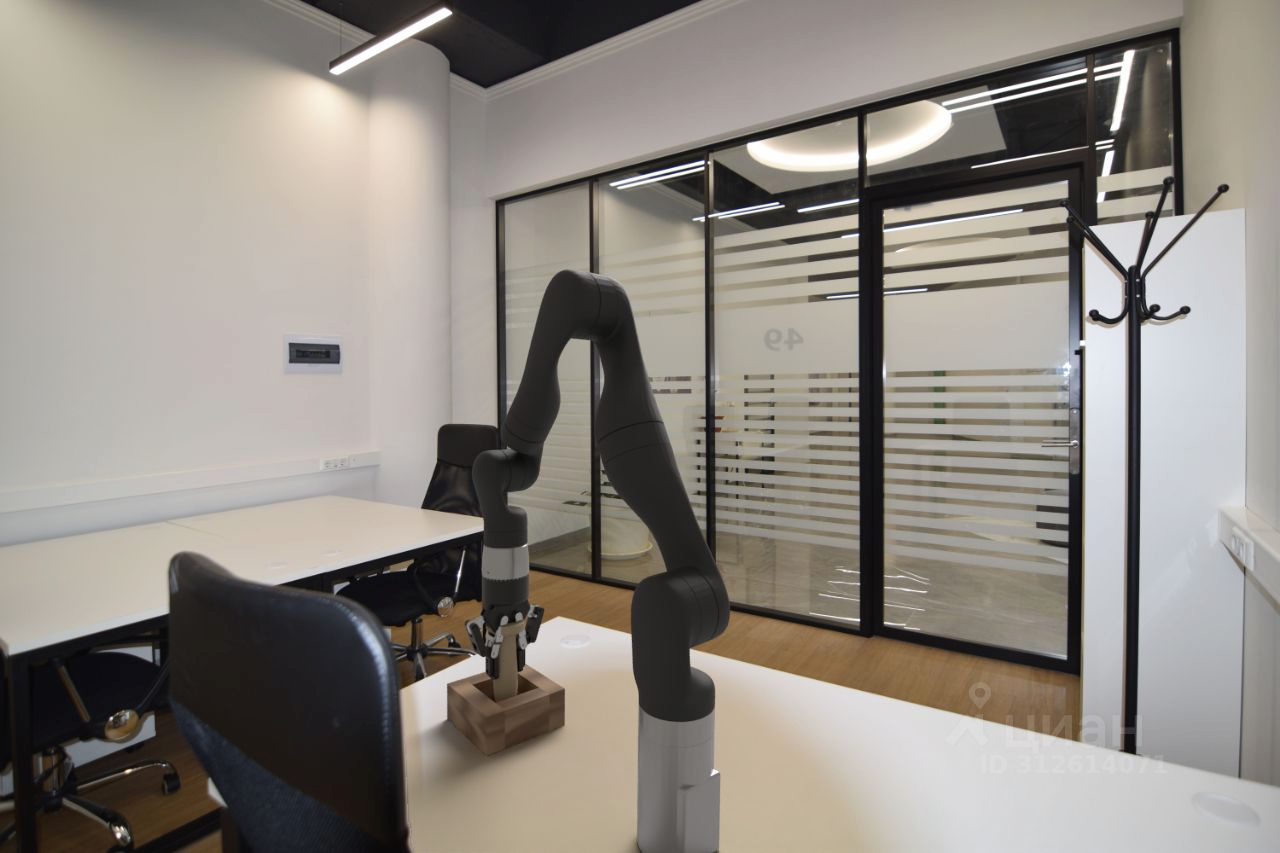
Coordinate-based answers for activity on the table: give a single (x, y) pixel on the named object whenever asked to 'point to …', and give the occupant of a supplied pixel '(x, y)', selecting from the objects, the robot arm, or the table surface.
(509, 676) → the handle
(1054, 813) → the table surface
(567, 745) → the table surface
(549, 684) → the wooden block
